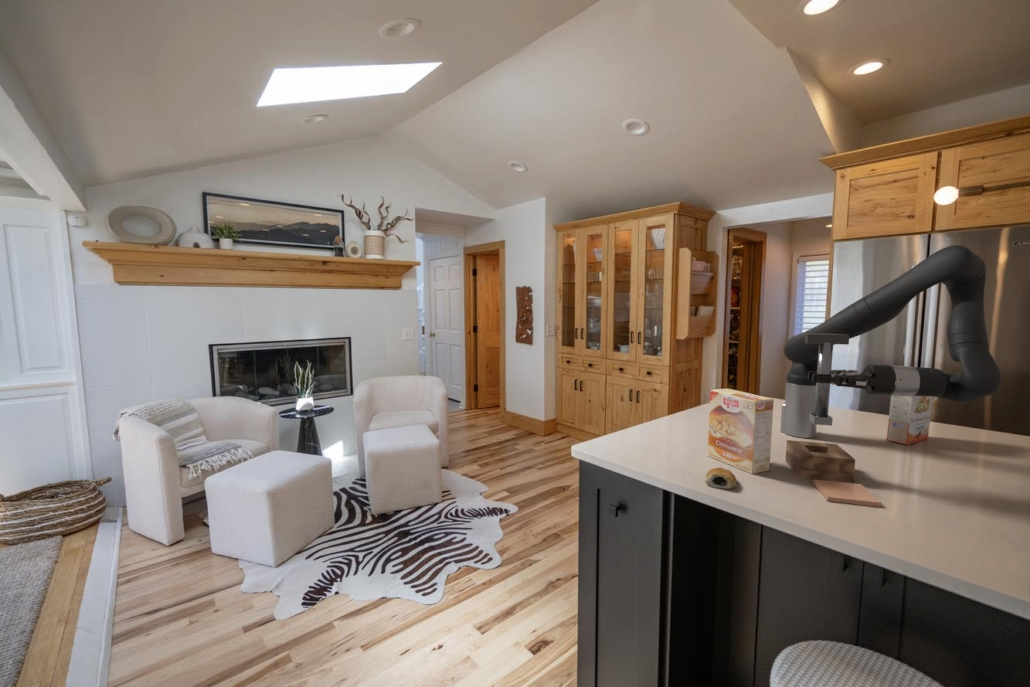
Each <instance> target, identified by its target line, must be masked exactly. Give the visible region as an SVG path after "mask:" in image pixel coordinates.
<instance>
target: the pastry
mask: <svg viewBox="0 0 1030 687" xmlns="http://www.w3.org/2000/svg"><path fill="white" fill-rule="evenodd" d="M704 481H705V483H706V485H707V486H708V487H711V488H715V489H722V490H723V489H724V490H732V489H734V488H736V485H737V477H736V476H735V474H734V473H733V472H732V471H731V470H730V469H725V468H723V467H714V468H710V470H708V472H707V473H706V476H705V480H704Z"/></svg>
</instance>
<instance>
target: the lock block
mask: <svg viewBox="0 0 1030 687" xmlns="http://www.w3.org/2000/svg"><path fill="white" fill-rule="evenodd" d="M785 447H786V448H785V462H786V464H787V465H788V467H789V468H790V469H791V470H792V471H793V473H794V474H795V475H796V477H797V478H800V479H809V480H822V481H832V482H842V483H852V484H855V483H854V482H855V480H854V479H855V471H856V470H855V469H856V459H855V458H854V457H853V456H851V454H850V453H849V452H848V451H846V450H845V449H843V448H842V447H841V446H840V445H839V444H838V443H829V442H828V443H827V442H817V441H816V442H815V441H803V440H802V441H801V440H790V439H789V440H788V439H786V446H785Z"/></svg>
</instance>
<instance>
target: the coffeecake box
mask: <svg viewBox="0 0 1030 687" xmlns="http://www.w3.org/2000/svg"><path fill="white" fill-rule="evenodd" d="M709 392H710V393H709V394H710V395H709V417H708V419H709V420H708V439H707V440H708V441H707V443H708V444H707V457H709V458H712V459H715V460H716V461H719V462H722V463H724V464H727V465H729V466H731V467H733V468H736V469H739V470H741V471H744V472H746V473H748V474H751V475H755V474H759V473H761V472H762V473H763V472H767V471H770V469H771V468H770V467H771V453H772V438H773V437H772V435H773V418H774V417H773V416H774V414H773V413H774V401H775V400H774V398H770V397H766V396H761V395H757V394H752V393H750V392H746V391H741V390H736V389H732V388H715V389H711V390H710V391H709Z"/></svg>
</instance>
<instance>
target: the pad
mask: <svg viewBox="0 0 1030 687" xmlns="http://www.w3.org/2000/svg"><path fill="white" fill-rule="evenodd" d="M812 480H813V483H812V484H813V485H814V487H815V488H816V489H817V490H818V491H819V493H820V494H821V495H822V496H823V498H825V500H826V499H827V500H828V501H827V500H826V501H827V502H831V501H834V503H840V502H843V504H849V503H852V504H851V505H858V504H859V505H858V506H868V507H875V508H878V507H879V508H881V505H882V504H881V501H880V500H879V499H877V497H876V496H874V495H873V494H872V493H871V492H870V491H869V490H868V489H867V488H866V487H865V486H864V485H863V484H862V483H861V484H860V483H848V482H838V481H828V480H818V479H812Z"/></svg>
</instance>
